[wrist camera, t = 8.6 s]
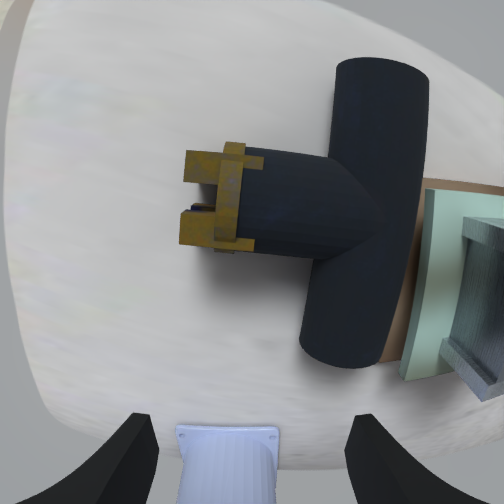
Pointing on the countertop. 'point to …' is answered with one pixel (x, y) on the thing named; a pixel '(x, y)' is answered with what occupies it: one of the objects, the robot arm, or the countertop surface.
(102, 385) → the countertop surface
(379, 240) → the pipe connector
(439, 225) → the stand
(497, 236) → the housing
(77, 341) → the countertop surface
